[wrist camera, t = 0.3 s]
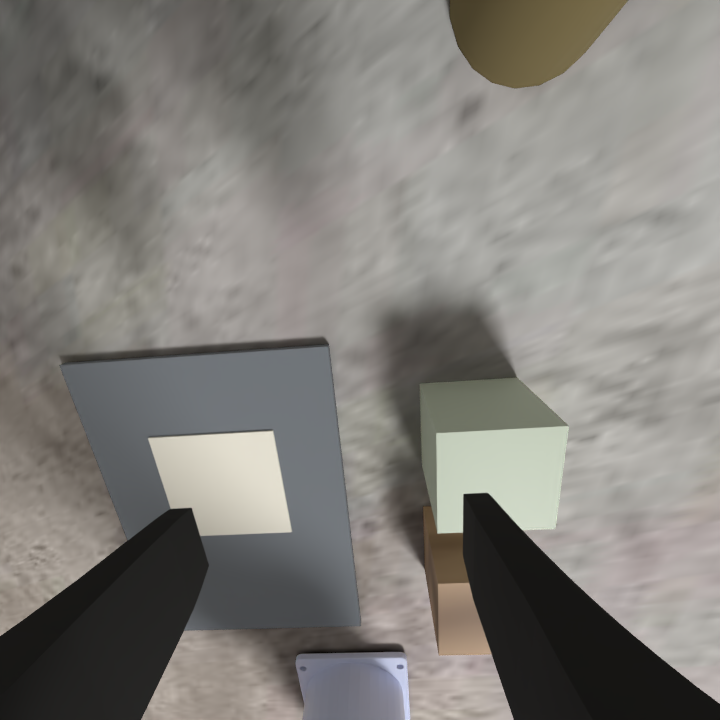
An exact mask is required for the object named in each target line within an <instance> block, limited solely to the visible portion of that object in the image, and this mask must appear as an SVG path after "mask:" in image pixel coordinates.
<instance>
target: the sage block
mask: <svg viewBox="0 0 720 720" xmlns="http://www.w3.org/2000/svg"><path fill="white" fill-rule="evenodd" d="M420 418H421V455H422V467H423V472H424V476H425V481H426V485H427V490H428V494H429V498H430V503H431V507H432V512H433V516H434V520H435V525H436V529H437V534H438V533H463V494H471V493H489V494H490V495H491V496H492V497H493V498H494V499H495V501H496V502H497V503H498V504H499V505H500V506H501V507H502V508H503V510H504V511H505V512H506V513H507V514H508V515H509V516H510V517H511V518H512V520H513V521H514V522H515V523H516V524H517V525H518V526H519V527H520V528H521V529H522V530H542V529H555V528H556V521H557V513H558V506H559V498H560V490H561V483H562V475H563V467H564V460H565V452H566V444H567V437H568V429H569V426H568V425H567V424H566V423H565V422H564V421H563V420H562V419H561V418H560V417H559V416H558V415H557V414H556V413H554V412H553V411H552V410H551V409H550V408H549V407H548V406H547V405H546V404H545V403H544V402H543V401H542V400H541V399H540V398H538V397H537V396H536V395H535V394H534V393H533V392H532V391H531V390H530V389H529V388H528V387H527V386H526V385H525V384H524V383H522V382H521V381H520V380H519V379H518V378H517V377H516V378H500V379H485V380H469V381H453V382H437V383H421V384H420Z"/></svg>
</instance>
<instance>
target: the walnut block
mask: <svg viewBox="0 0 720 720" xmlns="http://www.w3.org/2000/svg"><path fill="white" fill-rule="evenodd" d="M423 527H424V563H425V574H426V580H427V586H428V592H429V598H430V604H431V610H432V617H433V623H434V629H435V635H436V641H437V647H438V653H439V655H485V654H491V651H490V648H489V645H488V642H487V639H486V636H485V633H484V630H483V627H482V624H481V621H480V618H479V615H478V612H477V609H476V606H475V603H474V600H473V597H472V592H471V588H470V584H469V580H468V576H467V571H466V567H465V563H464V558H463V533H438V534H437V529H436V525H435V520H434V516H433V512H432V507H431V506H423Z"/></svg>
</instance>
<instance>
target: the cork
mask: <svg viewBox="0 0 720 720" xmlns="http://www.w3.org/2000/svg"><path fill="white" fill-rule="evenodd" d="M627 1H628V0H450V20H451V23H452V27H453V30H454V34H455V37H456V41H457V44H458V47H459V49H460V50H461V52H462V53H463V55H464V56H465V58H466V59H467V61H468V62H469V64H470V65H471V67H472V68H473V69H474V70H475V71H477V72H478V73H480V74H481V75H482V76H484V77H485V78H486V79H488V80H489V81H490V82H492V83H495V84H499V85H503V86H507V87H511V88H522V87H529V86H537V85H541V84H543V83H545V82H547V81H549V80H551V79H553V78H555V77H557V76H559V75H561V74H563V73H564V72H565V71H566V70H567V69H568V68H569V67H570V66H571V65H573V64H574V63H575V62H576V61H577V60H578V59H579V58H580V57H581V56H582V55H583V54H584V53H585V52H586V51H587V50H588V49H589V47H590V46H591V45H592V44H593V43H594V41H595V40H596V39H597V38H598V36H599V35H600V34H601V33H602V32H603V30H604V29H605V28H606V27H607V26H608V24H609V23H610V22H611V21H612V19H613V18H614V17H615V16H616V15H617V13H618V12H619V11H620V10H621V8H622V7H623V6H624V5H625V4H626V2H627Z"/></svg>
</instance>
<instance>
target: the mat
mask: <svg viewBox="0 0 720 720" xmlns="http://www.w3.org/2000/svg"><path fill="white" fill-rule="evenodd" d="M59 366H60V368H61V371H62V373H63V376H64V379H65V381H66V384H67V386H68V389H69V391H70V394H71V396H72V399H73V402H74V404H75V407H76V409H77V412H78V414H79V417H80V420H81V422H82V425H83V427H84V430H85V432H86V435H87V438H88V440H89V443H90V445H91V448H92V450H93V453H94V455H95V458H96V461H97V463H98V466H99V468H100V471H101V473H102V476H103V479H104V481H105V484H106V486H107V489H108V491H109V494H110V497H111V499H112V502H113V504H114V507H115V509H116V512H117V514H118V517H119V520H120V522H121V525H122V527H123V530H124V532H125V535H126V538H127V540H129V539H131V538H132V537H133V536H134V535H136V534H137V533H138V532H140V531H141V530H142V529H143V528H145V527H146V526H147V525H149V524H150V523H151V522H153V521H154V520H155V519H156V518H158V517H159V516H161V515H162V514H163V513H165V512H166V511H168V510H169V509H178V508H192V511H193V514H194V517H195V520H196V524H197V527H198V530H199V534H200V537H201V540H202V544H203V547H204V550H205V554H206V557H207V560H208V563H209V567H208V570H207V573H206V576H205V579H204V582H203V585H202V588H201V591H200V594H199V596H198V599H197V602H196V605H195V607H194V610H193V612H192V614H191V616H190V618H189V621H188V623H187V625H186V627H185V629H184V631H186V630H225V629H264V628H303V627H342V626H361V617H360V608H359V600H358V591H357V582H356V574H355V565H354V556H353V548H352V539H351V531H350V522H349V513H348V505H347V496H346V487H345V479H344V470H343V462H342V453H341V444H340V436H339V427H338V418H337V410H336V401H335V393H334V384H333V375H332V367H331V358H330V349H329V344H325V345H310V346H296V347H282V348H268V349H254V350H240V351H226V352H211V353H197V354H183V355H169V356H155V357H141V358H126V359H112V360H98V361H84V362H70V363H64V364H62V365H59Z"/></svg>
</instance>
